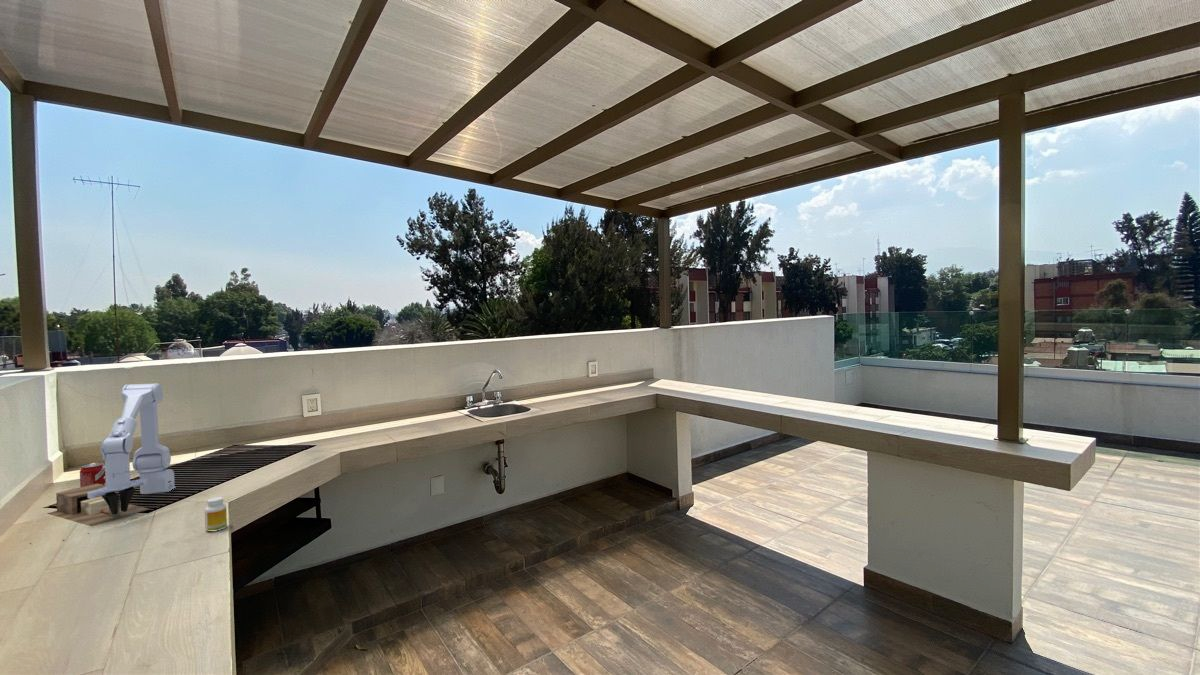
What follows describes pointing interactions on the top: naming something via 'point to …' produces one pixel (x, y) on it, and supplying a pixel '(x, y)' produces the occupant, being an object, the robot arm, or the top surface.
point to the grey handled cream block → (97, 506)
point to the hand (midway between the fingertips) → (119, 512)
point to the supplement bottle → (215, 514)
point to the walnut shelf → (72, 507)
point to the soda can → (92, 474)
